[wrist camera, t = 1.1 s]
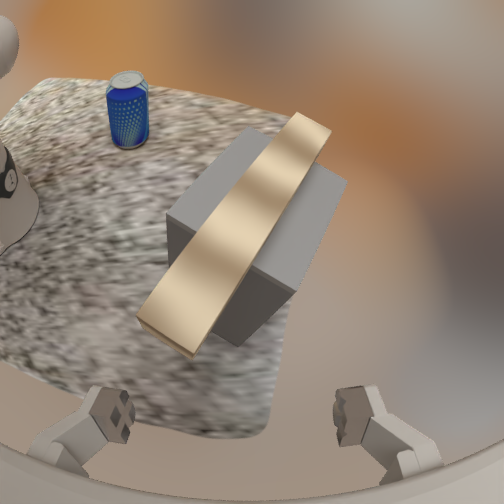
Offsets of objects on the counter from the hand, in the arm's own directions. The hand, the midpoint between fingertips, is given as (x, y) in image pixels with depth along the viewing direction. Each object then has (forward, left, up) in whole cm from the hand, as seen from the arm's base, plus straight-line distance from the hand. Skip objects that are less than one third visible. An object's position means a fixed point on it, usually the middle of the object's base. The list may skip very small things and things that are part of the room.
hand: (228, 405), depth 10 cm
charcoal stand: (+5, +17, -35) cm, 39 cm away
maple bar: (+3, +14, -9) cm, 17 cm away
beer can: (-18, +50, -35) cm, 64 cm away
